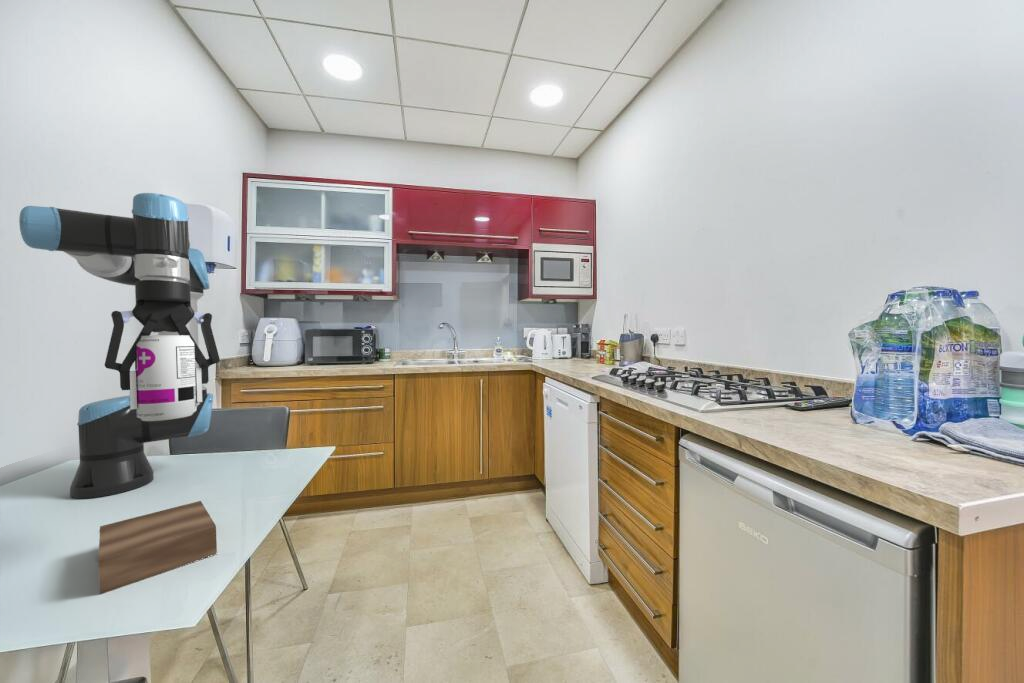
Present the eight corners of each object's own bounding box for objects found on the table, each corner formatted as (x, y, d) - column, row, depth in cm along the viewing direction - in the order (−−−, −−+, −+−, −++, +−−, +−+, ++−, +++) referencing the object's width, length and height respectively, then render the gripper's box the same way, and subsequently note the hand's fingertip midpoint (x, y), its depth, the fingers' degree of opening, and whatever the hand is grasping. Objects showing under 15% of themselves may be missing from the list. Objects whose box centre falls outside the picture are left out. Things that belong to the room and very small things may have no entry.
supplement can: (146, 423, 65) (143, 335, 65) (130, 419, 69) (127, 336, 69) (204, 414, 72) (201, 335, 72) (186, 411, 76) (183, 336, 76)
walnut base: (101, 554, 68) (100, 526, 68) (201, 525, 78) (200, 500, 78) (99, 594, 57) (98, 561, 57) (216, 554, 67) (216, 525, 67)
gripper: (76, 272, 60) (81, 416, 61) (237, 284, 76) (241, 398, 76) (78, 278, 66) (82, 411, 66) (228, 288, 81) (232, 396, 81)
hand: (167, 404), depth 71 cm, fingers closed on supplement can, 8 cm apart
